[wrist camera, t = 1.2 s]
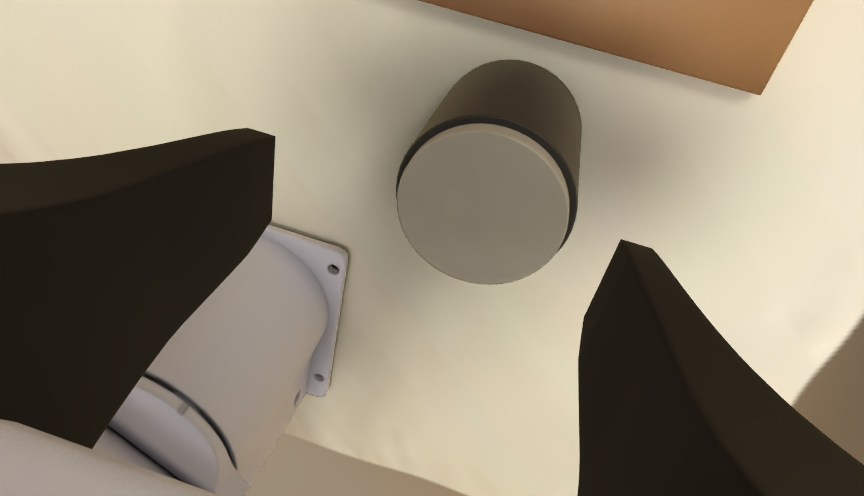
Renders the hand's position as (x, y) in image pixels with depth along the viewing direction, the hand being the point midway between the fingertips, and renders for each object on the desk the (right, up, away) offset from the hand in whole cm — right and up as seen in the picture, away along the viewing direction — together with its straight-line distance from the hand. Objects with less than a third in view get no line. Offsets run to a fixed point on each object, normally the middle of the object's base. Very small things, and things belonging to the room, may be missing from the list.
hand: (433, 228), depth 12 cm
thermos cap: (+3, +4, +9) cm, 10 cm away
